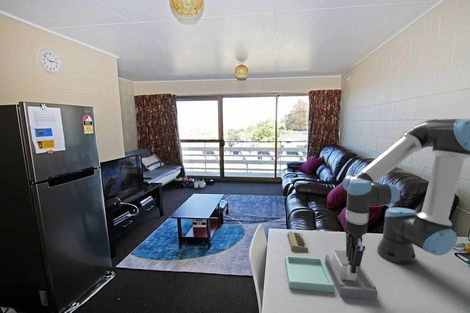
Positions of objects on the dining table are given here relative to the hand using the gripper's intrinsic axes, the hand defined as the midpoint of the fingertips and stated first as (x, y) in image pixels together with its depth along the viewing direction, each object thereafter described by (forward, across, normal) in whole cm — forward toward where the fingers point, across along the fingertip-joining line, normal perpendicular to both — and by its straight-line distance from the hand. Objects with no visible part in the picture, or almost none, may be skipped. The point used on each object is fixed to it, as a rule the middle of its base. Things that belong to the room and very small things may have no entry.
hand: (351, 278), depth 93 cm
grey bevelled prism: (+3, -8, 0) cm, 9 cm away
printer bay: (+2, -3, 0) cm, 4 cm away
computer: (+3, -30, -16) cm, 34 cm away
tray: (+2, -4, -16) cm, 17 cm away
